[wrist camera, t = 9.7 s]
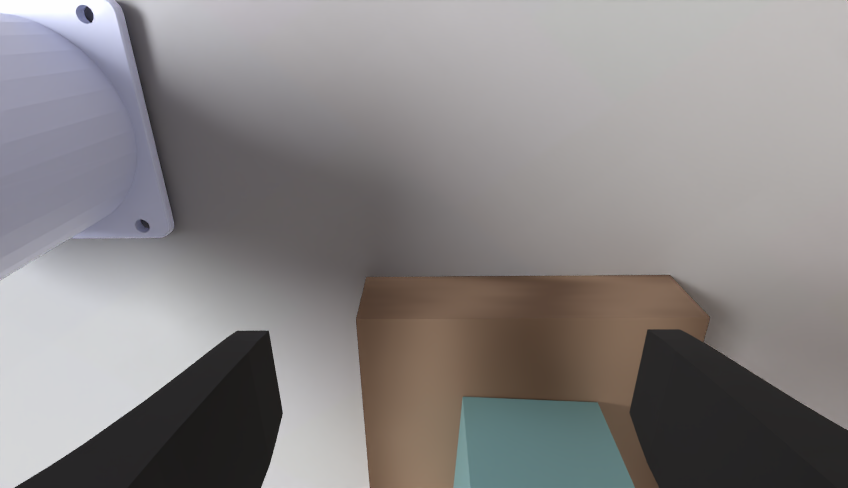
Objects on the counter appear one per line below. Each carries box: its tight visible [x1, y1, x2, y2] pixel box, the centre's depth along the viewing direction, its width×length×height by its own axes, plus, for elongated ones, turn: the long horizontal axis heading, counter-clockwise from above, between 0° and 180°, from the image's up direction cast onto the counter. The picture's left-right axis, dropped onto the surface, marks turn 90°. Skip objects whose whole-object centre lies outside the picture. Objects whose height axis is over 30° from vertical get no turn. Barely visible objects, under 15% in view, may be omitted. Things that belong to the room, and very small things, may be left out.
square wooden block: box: [356, 275, 710, 488], centre depth 21 cm, size 12×12×4 cm
